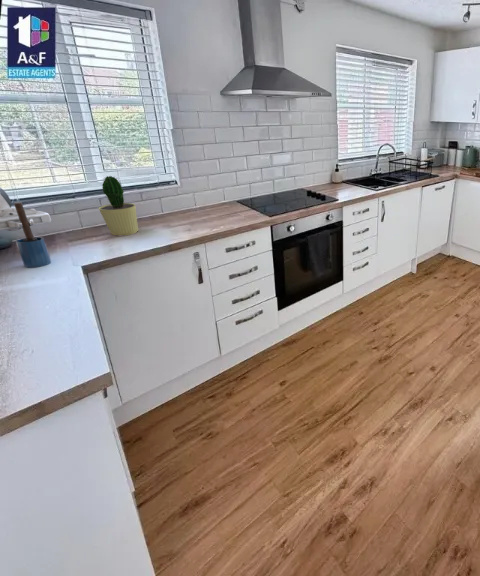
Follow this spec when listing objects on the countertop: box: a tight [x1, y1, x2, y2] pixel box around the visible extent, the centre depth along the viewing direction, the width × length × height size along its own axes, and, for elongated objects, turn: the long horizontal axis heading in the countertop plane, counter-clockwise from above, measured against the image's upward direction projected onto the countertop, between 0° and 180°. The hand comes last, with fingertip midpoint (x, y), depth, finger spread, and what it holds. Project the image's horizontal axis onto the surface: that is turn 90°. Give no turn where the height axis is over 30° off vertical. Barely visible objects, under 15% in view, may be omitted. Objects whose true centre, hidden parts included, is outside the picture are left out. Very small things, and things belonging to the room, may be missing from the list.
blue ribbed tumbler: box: [15, 236, 52, 268], centre depth 145 cm, size 8×8×10 cm
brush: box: [13, 201, 38, 242], centre depth 141 cm, size 4×4×20 cm
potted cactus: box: [98, 175, 139, 236], centre depth 184 cm, size 15×15×30 cm
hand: (26, 224), depth 140 cm, fingers closed on brush, 2 cm apart
